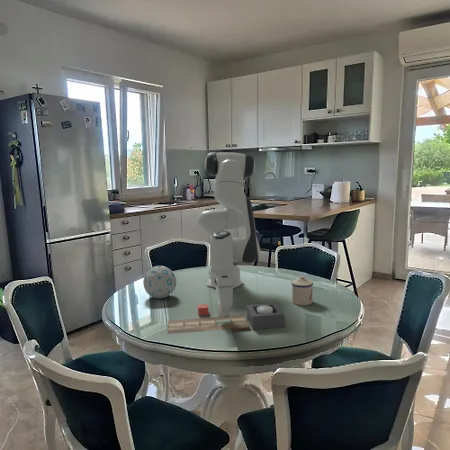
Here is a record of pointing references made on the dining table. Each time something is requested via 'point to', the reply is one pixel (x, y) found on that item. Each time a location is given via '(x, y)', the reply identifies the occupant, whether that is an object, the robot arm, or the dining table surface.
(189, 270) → the dining table surface
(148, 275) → the puzzle ball
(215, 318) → the board
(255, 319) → the dome housing
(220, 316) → the pawn
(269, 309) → the push dome
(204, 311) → the die
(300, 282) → the teacup with lid
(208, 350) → the dining table surface
